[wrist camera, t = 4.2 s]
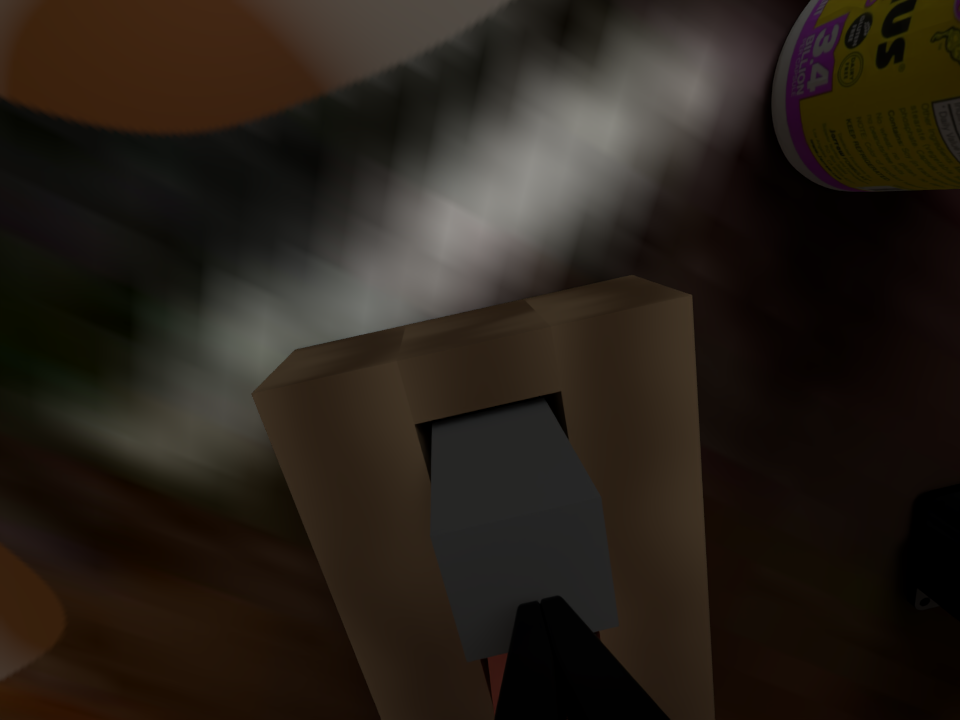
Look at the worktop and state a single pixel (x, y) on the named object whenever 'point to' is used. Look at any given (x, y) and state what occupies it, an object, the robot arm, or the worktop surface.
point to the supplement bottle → (872, 95)
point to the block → (407, 479)
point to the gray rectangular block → (515, 524)
